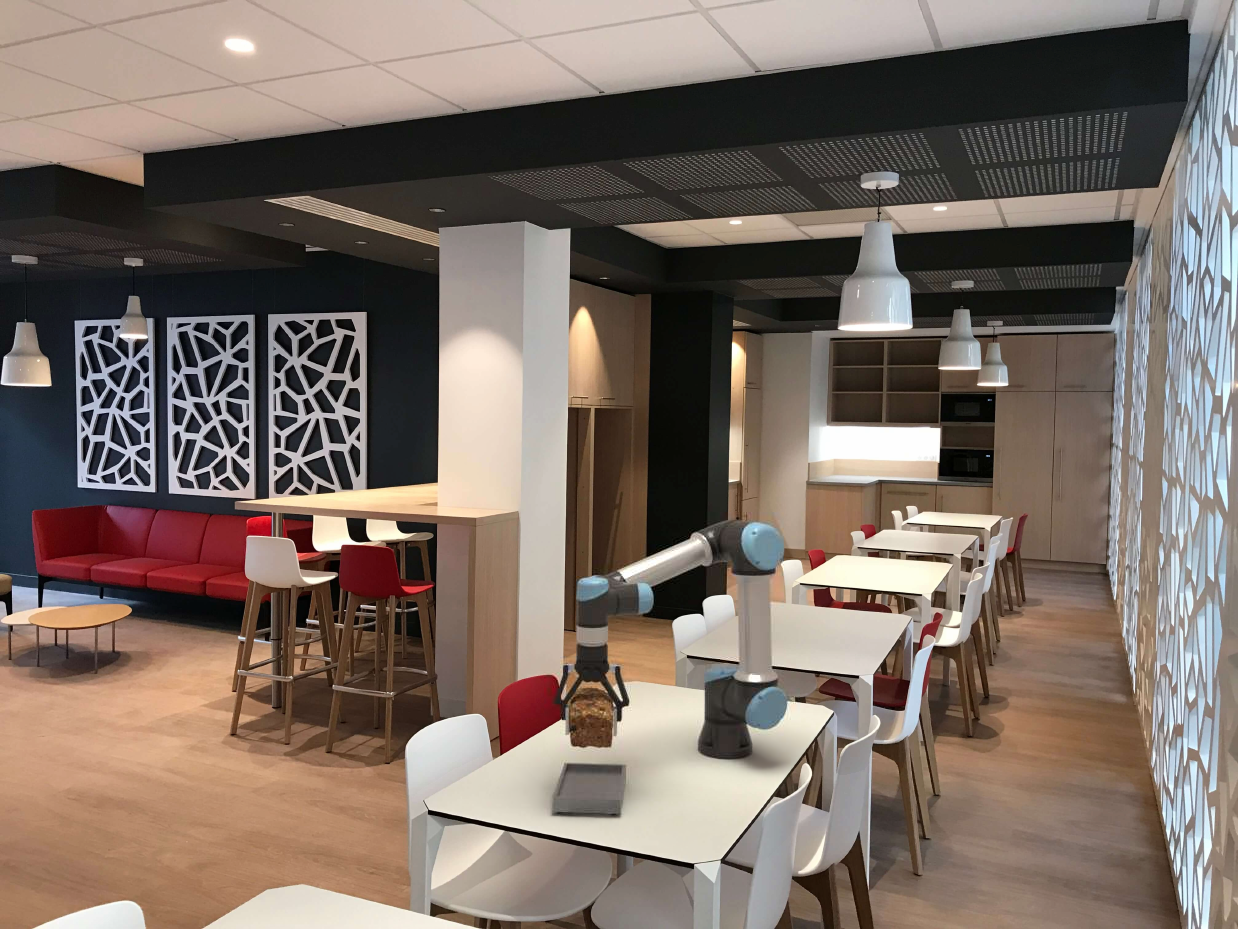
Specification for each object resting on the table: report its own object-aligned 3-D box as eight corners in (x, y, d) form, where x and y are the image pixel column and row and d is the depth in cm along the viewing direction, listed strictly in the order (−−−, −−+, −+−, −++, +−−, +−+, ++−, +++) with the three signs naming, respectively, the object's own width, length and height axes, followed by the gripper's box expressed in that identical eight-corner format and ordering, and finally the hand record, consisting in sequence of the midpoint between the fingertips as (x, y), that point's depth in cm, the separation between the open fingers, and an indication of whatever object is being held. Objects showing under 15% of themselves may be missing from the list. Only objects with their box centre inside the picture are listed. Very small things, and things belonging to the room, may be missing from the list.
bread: (571, 724, 239) (571, 685, 239) (613, 725, 240) (614, 685, 239) (567, 749, 221) (567, 706, 221) (613, 749, 221) (614, 706, 221)
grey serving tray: (625, 781, 242) (626, 764, 242) (620, 818, 219) (620, 799, 218) (564, 779, 243) (564, 762, 243) (552, 815, 219) (552, 797, 219)
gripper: (641, 640, 233) (640, 730, 233) (546, 638, 234) (545, 728, 235) (640, 647, 225) (639, 740, 226) (541, 645, 227) (541, 737, 227)
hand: (591, 734), depth 230 cm, fingers closed on bread, 11 cm apart
